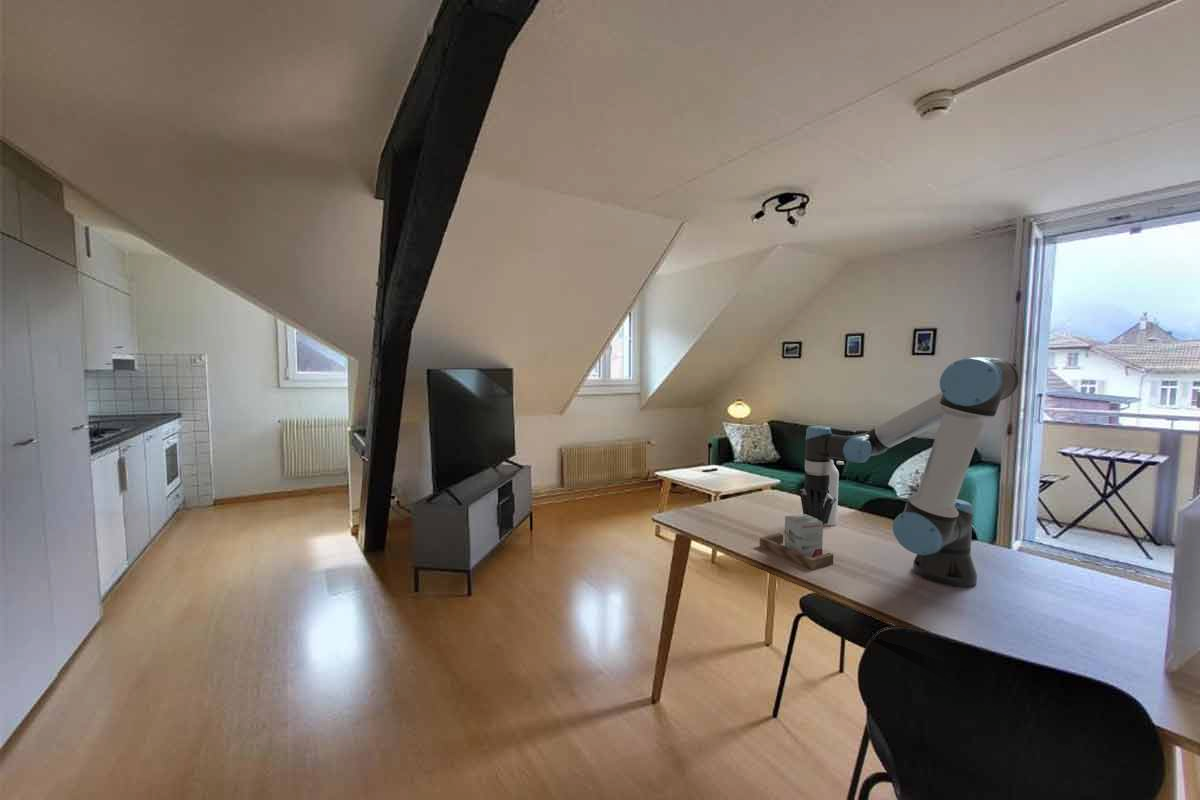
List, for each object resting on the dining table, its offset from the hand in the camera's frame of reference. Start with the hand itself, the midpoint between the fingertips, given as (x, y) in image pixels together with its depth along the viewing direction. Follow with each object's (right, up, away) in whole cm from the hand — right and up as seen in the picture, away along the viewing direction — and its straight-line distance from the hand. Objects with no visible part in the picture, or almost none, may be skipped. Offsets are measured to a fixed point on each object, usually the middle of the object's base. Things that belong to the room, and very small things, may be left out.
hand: (814, 542), depth 160 cm
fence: (-8, -3, -4) cm, 10 cm away
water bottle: (+17, -1, +25) cm, 30 cm away
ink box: (-5, -3, -3) cm, 7 cm away
